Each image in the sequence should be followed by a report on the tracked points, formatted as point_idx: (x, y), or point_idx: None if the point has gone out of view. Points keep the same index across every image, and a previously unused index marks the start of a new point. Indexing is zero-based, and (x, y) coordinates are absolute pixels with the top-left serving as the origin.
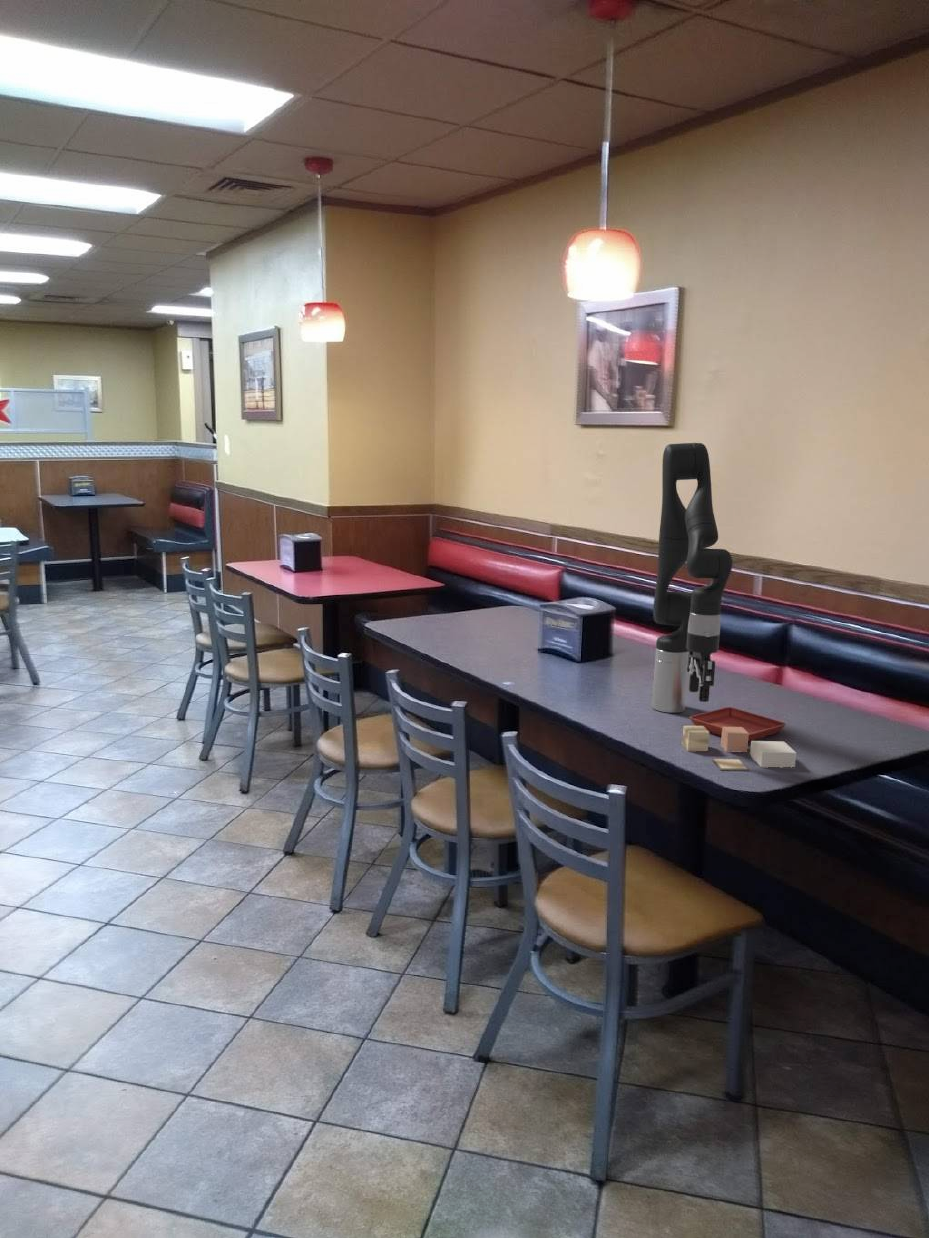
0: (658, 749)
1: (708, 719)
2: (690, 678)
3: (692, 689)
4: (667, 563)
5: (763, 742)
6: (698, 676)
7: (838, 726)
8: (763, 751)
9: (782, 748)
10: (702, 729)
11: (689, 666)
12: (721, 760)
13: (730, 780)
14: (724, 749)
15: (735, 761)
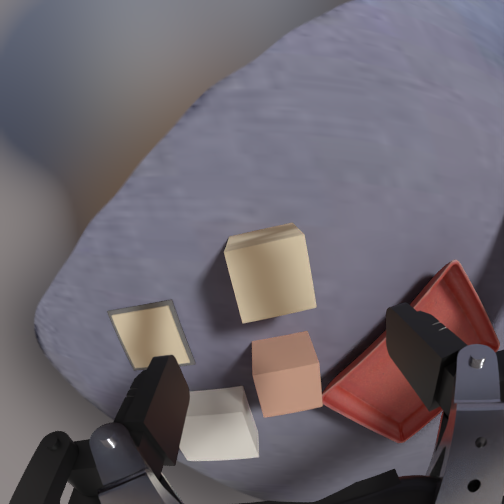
0: (222, 146)
1: (466, 304)
2: (438, 352)
3: (393, 327)
4: None
5: (237, 430)
6: (119, 480)
7: (415, 467)
8: None
9: (206, 450)
10: (271, 302)
11: (501, 415)
12: (165, 323)
13: (66, 320)
14: (271, 338)
15: (171, 353)
